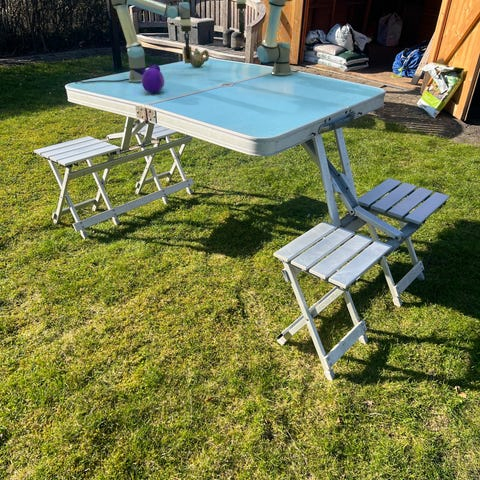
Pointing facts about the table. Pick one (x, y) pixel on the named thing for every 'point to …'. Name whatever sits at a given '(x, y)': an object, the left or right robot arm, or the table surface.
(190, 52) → the block
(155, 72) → the toy
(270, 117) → the table surface
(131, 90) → the table surface
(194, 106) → the table surface
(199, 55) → the tan lumpy piece
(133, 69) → the left robot arm
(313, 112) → the table surface
